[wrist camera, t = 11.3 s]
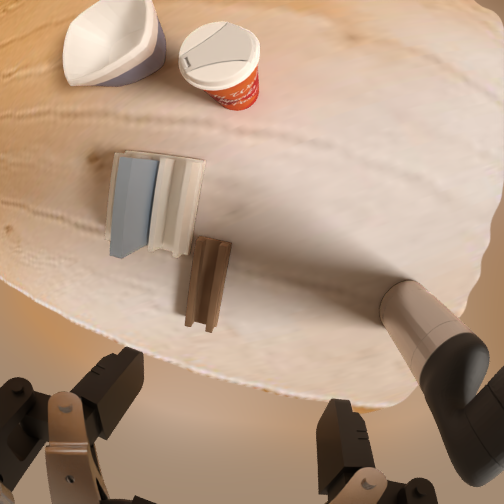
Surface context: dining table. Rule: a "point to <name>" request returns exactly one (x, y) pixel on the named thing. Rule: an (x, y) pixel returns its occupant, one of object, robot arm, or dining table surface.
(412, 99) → the dining table surface
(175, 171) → the rack
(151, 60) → the bowl
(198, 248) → the stand
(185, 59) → the coffee cup
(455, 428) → the robot arm
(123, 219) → the grey-blue flat slab
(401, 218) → the dining table surface
